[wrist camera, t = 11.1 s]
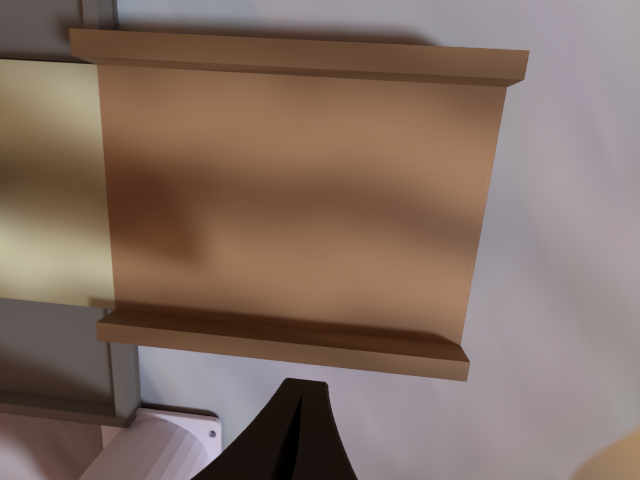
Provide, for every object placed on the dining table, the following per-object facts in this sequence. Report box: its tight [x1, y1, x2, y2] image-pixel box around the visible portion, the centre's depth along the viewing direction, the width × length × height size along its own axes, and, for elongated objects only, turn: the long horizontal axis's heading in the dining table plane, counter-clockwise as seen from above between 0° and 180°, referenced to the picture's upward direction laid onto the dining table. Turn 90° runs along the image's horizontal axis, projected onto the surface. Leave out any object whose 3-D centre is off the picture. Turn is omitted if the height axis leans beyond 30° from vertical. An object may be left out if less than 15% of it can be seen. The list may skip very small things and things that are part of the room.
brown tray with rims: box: [0, 28, 529, 382], centre depth 17 cm, size 16×32×4 cm, turn 86°
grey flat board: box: [0, 0, 142, 429], centre depth 19 cm, size 29×12×2 cm, turn 176°
